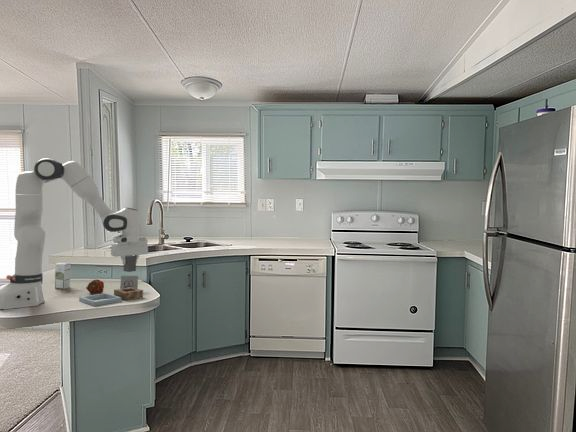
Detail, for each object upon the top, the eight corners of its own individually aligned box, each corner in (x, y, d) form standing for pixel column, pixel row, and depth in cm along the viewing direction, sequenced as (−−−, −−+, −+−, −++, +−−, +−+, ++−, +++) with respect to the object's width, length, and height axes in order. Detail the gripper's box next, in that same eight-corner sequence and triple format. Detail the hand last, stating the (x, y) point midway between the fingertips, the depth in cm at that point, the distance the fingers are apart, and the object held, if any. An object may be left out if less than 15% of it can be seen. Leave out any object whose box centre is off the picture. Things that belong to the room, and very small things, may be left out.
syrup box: (70, 287, 236) (71, 262, 236) (63, 289, 230) (64, 263, 230) (61, 286, 237) (61, 261, 236) (54, 288, 231) (55, 263, 230)
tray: (94, 306, 197) (94, 302, 197) (79, 300, 206) (79, 297, 206) (121, 301, 209) (121, 297, 209) (106, 296, 217) (106, 292, 217)
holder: (125, 300, 210) (125, 293, 210) (113, 297, 217) (114, 289, 216) (142, 297, 219) (143, 290, 219) (131, 294, 225) (131, 287, 225)
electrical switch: (119, 292, 229) (120, 275, 229) (121, 291, 234) (122, 275, 234) (137, 292, 231) (138, 276, 231) (138, 291, 236) (139, 275, 236)
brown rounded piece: (95, 299, 217) (92, 297, 227) (109, 288, 222) (106, 287, 232) (85, 286, 215) (82, 285, 225) (99, 276, 220) (96, 276, 230)
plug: (128, 271, 214) (128, 256, 214) (123, 270, 217) (123, 255, 217) (135, 271, 218) (136, 256, 218) (131, 269, 221) (131, 255, 220)
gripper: (144, 236, 227) (143, 261, 228) (109, 238, 211) (108, 264, 211) (150, 237, 224) (150, 262, 224) (116, 239, 207) (115, 266, 207)
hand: (129, 263), depth 217 cm, fingers closed on plug, 4 cm apart
